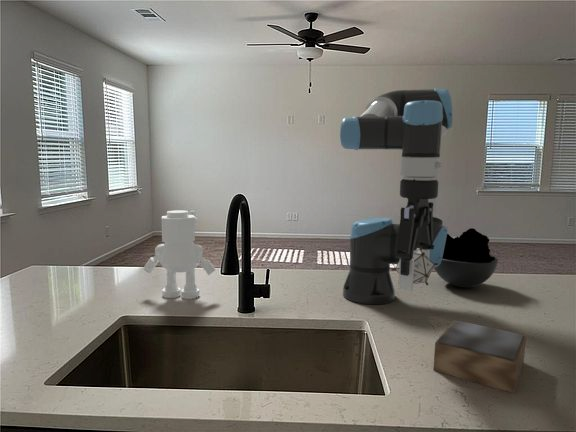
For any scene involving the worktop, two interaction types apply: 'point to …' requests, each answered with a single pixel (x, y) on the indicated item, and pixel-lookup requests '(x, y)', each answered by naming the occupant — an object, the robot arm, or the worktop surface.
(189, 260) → the robot toy
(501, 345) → the walnut framed square mirror
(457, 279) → the coal bowl
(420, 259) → the game die
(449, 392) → the worktop surface
